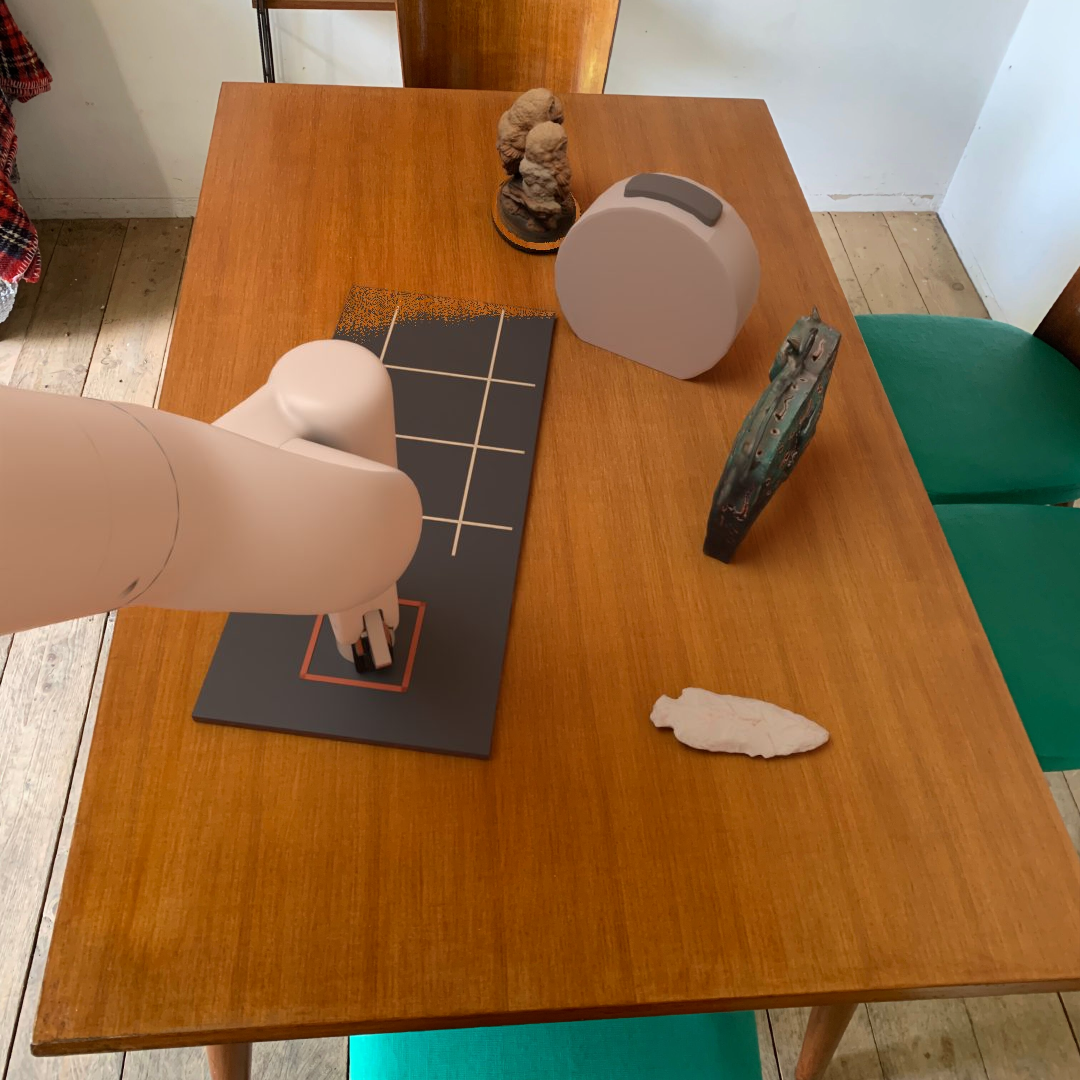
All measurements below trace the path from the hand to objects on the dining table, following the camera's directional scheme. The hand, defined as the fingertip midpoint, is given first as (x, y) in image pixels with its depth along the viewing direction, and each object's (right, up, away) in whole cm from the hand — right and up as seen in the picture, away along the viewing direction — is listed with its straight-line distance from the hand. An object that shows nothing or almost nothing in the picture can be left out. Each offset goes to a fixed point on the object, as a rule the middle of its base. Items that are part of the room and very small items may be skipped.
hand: (365, 636), depth 78 cm
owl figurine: (+14, +50, +42) cm, 67 cm away
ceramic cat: (+36, +12, +15) cm, 41 cm away
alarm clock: (+27, +31, +29) cm, 50 cm away
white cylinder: (0, 0, 0) cm, 0 cm away
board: (+2, +14, +13) cm, 19 cm away
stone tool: (+31, -8, -1) cm, 32 cm away
